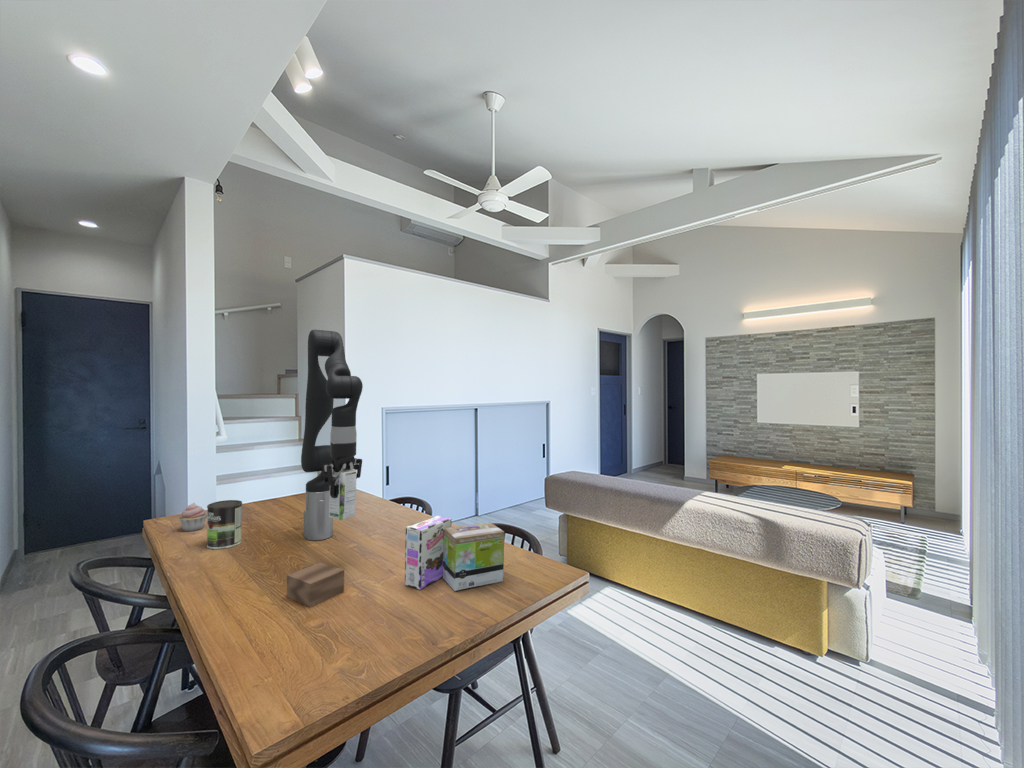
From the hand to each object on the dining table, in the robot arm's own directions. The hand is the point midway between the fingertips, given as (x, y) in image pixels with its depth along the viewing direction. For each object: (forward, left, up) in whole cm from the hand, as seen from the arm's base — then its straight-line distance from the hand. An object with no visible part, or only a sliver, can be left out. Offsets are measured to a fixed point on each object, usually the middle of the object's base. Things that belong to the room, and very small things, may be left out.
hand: (342, 495), depth 139 cm
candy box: (+29, +4, -22) cm, 37 cm away
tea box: (+41, +9, -22) cm, 48 cm away
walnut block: (+8, -17, -22) cm, 29 cm away
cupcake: (-78, +1, -22) cm, 81 cm away
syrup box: (0, 0, -7) cm, 7 cm away
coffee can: (-51, -4, -22) cm, 56 cm away
